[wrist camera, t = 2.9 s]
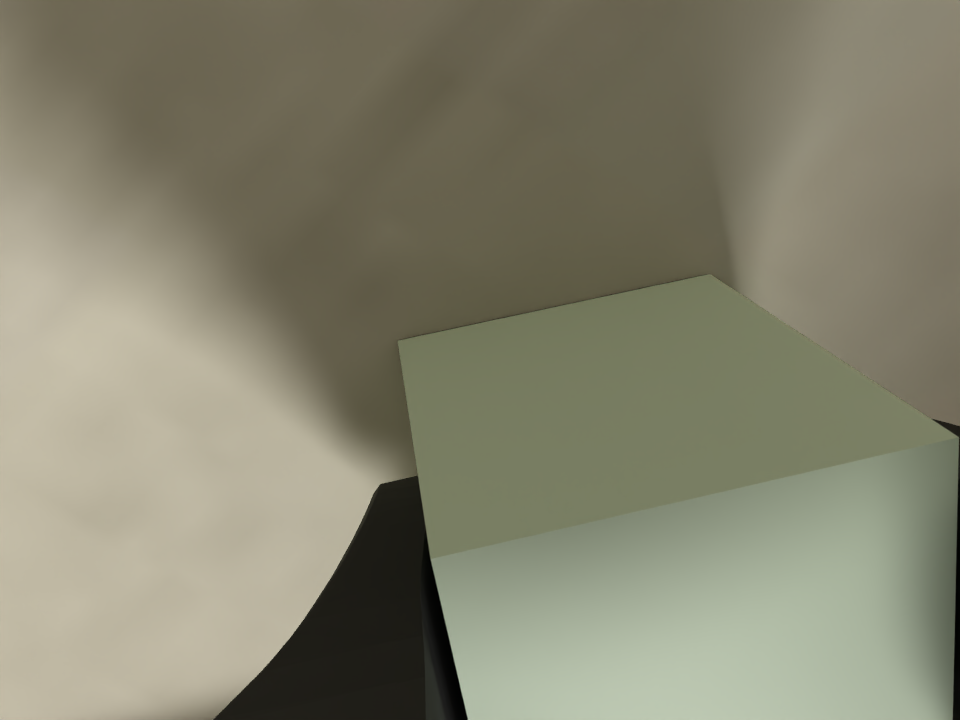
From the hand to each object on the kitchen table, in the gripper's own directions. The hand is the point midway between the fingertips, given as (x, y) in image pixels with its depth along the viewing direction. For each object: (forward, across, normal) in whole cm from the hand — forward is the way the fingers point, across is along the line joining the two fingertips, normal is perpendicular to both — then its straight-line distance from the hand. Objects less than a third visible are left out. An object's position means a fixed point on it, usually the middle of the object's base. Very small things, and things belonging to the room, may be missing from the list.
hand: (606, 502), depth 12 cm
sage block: (+2, 0, 0) cm, 2 cm away
